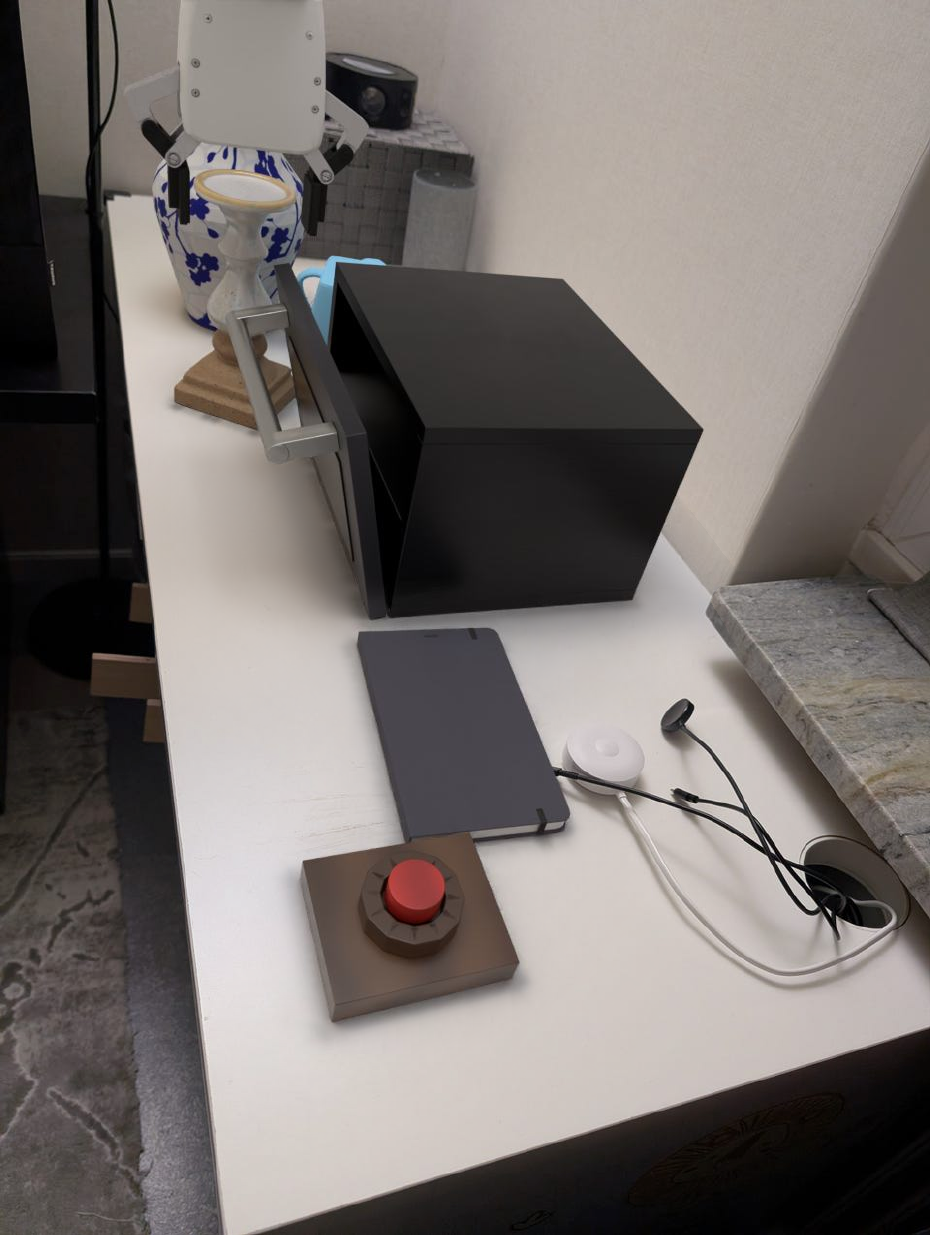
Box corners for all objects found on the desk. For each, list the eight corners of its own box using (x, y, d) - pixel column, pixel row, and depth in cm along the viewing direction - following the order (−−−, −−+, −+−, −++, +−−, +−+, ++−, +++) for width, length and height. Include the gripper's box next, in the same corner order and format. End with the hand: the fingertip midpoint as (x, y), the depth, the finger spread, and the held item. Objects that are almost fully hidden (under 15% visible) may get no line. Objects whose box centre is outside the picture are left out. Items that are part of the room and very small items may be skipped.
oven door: (305, 635, 80) (268, 451, 66) (250, 443, 102) (213, 274, 88) (386, 615, 82) (366, 432, 68) (315, 430, 104) (289, 262, 90)
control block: (331, 1021, 54) (338, 990, 52) (299, 878, 61) (304, 844, 58) (512, 978, 58) (527, 947, 56) (464, 849, 65) (475, 816, 63)
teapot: (338, 402, 110) (351, 296, 102) (273, 341, 119) (280, 238, 110) (454, 382, 121) (475, 284, 112) (387, 327, 129) (401, 233, 120)
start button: (392, 929, 55) (397, 914, 54) (378, 879, 58) (382, 863, 57) (447, 918, 57) (452, 903, 56) (430, 869, 59) (435, 854, 58)
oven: (389, 618, 82) (425, 427, 69) (317, 433, 104) (335, 261, 91) (632, 600, 92) (704, 429, 79) (520, 434, 113) (563, 278, 100)
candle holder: (217, 365, 111) (221, 159, 96) (299, 392, 110) (317, 188, 95) (171, 401, 103) (168, 182, 87) (260, 430, 102) (272, 214, 86)
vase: (176, 350, 112) (172, 80, 92) (140, 285, 123) (130, 33, 104) (320, 345, 121) (344, 97, 101) (274, 285, 132) (288, 52, 113)
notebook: (356, 643, 79) (406, 850, 64) (358, 630, 78) (410, 837, 63) (491, 638, 83) (568, 831, 68) (495, 626, 82) (574, 819, 67)
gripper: (371, -26, 65) (345, 217, 76) (114, -77, 59) (127, 196, 70) (397, -5, 60) (365, 252, 71) (120, -58, 54) (132, 233, 65)
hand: (247, 224), depth 70 cm, fingers open, 9 cm apart
